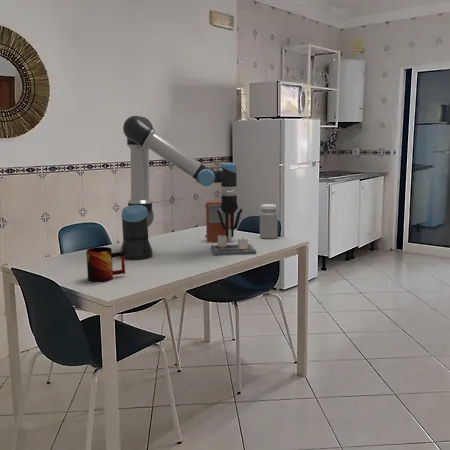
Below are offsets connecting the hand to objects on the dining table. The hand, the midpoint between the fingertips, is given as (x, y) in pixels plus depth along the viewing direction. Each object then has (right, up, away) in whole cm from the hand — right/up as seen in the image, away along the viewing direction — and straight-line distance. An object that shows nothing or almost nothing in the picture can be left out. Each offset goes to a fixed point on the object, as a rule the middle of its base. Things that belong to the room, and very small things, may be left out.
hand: (229, 242), depth 255 cm
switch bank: (+2, -4, -3) cm, 5 cm away
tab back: (-4, -2, 0) cm, 4 cm away
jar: (+22, +2, +29) cm, 36 cm away
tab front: (+6, -3, -7) cm, 10 cm away
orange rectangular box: (-6, 0, +21) cm, 22 cm away
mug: (-50, -13, -48) cm, 71 cm away
